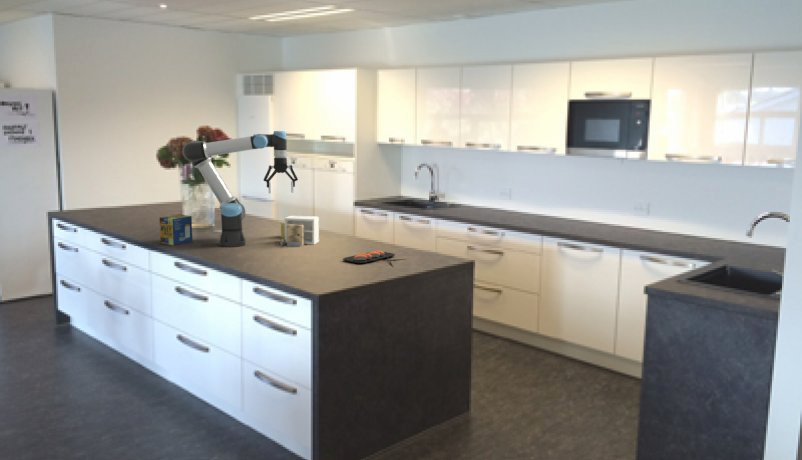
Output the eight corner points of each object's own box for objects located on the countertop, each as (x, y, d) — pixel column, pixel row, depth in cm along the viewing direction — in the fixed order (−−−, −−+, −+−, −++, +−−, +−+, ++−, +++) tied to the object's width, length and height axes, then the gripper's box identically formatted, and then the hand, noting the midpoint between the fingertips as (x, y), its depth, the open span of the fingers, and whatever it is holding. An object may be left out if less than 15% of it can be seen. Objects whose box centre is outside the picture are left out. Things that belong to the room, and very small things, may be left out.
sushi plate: (377, 253, 374) (377, 247, 373) (419, 261, 355) (419, 254, 354) (340, 262, 352) (340, 255, 351) (383, 271, 333) (383, 263, 332)
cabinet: (280, 245, 391) (280, 220, 388) (290, 240, 408) (289, 215, 405) (310, 246, 388) (310, 221, 385) (319, 241, 405) (318, 216, 403)
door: (286, 245, 391) (286, 225, 389) (289, 244, 395) (288, 224, 393) (301, 246, 389) (301, 226, 387) (303, 245, 394) (303, 224, 392)
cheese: (301, 236, 422) (300, 220, 420) (296, 239, 411) (296, 223, 410) (284, 235, 423) (284, 220, 421) (280, 238, 412) (279, 222, 411)
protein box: (160, 243, 392) (158, 217, 389) (180, 239, 405) (179, 214, 403) (173, 245, 387) (172, 218, 384) (193, 241, 400) (192, 215, 398)
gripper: (260, 157, 392) (261, 194, 396) (302, 157, 401) (302, 192, 404) (258, 157, 399) (258, 192, 402) (299, 156, 408) (300, 191, 411)
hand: (281, 192), depth 403 cm, fingers open, 13 cm apart
